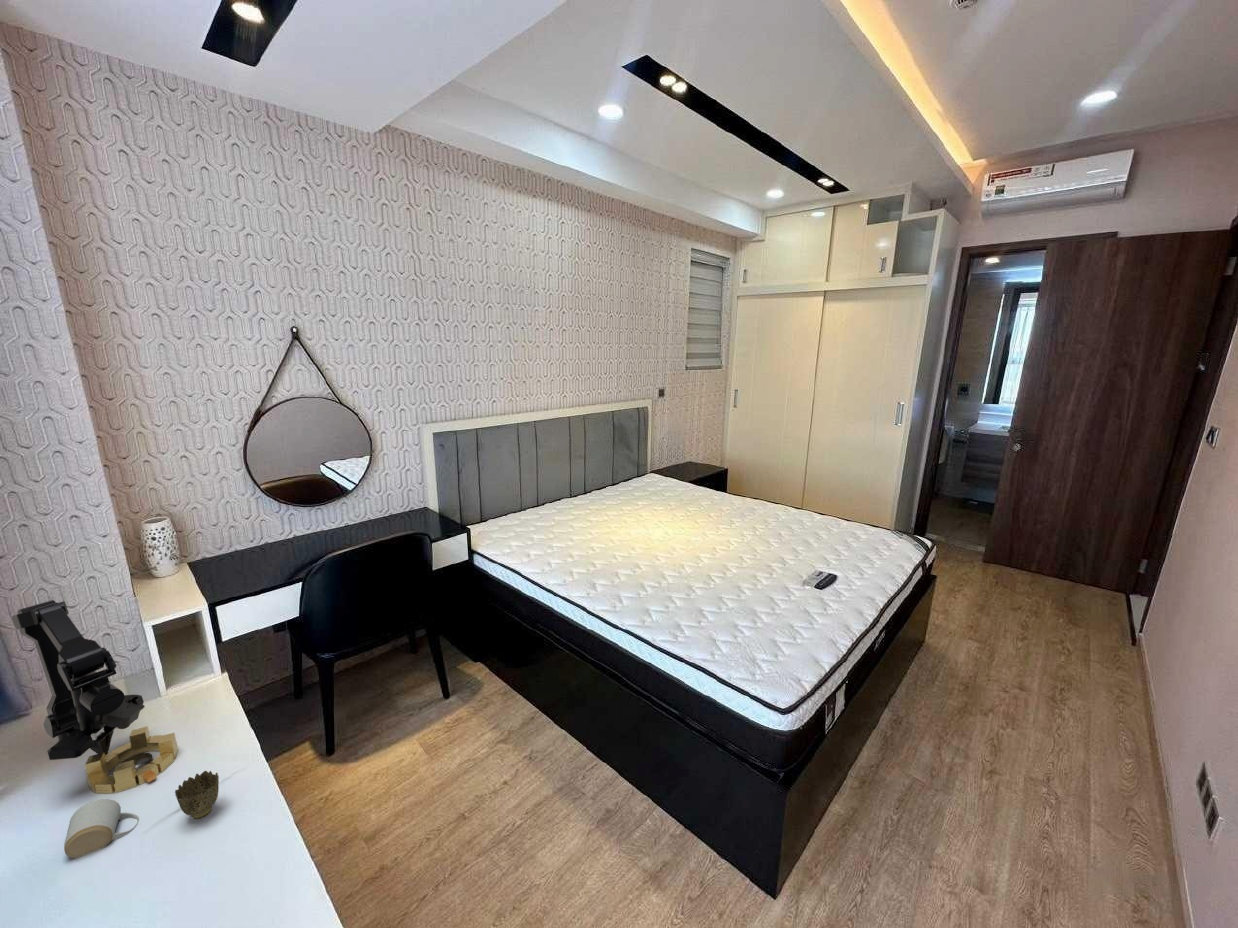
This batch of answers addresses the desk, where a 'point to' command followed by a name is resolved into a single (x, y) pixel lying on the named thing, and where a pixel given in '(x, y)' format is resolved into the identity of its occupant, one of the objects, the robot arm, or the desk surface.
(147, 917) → the desk surface
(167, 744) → the ring nut
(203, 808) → the cup
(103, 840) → the ceramic mug
